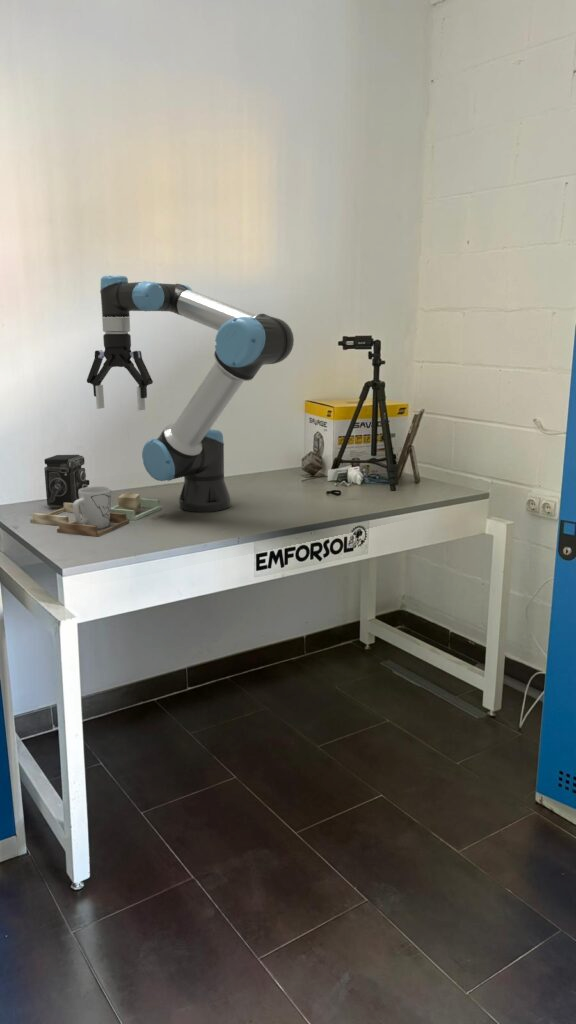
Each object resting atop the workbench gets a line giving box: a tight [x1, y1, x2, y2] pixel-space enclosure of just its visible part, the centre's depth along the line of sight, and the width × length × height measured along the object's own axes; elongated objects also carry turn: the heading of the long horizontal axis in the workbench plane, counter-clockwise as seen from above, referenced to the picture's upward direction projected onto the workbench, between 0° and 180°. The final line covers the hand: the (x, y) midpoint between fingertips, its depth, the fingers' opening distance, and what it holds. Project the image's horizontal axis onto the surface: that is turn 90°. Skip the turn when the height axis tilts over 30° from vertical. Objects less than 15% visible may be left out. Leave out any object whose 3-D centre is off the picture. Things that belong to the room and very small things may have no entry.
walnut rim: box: [56, 512, 130, 537], centre depth 204 cm, size 13×15×2 cm
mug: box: [73, 485, 112, 530], centre depth 204 cm, size 11×8×10 cm
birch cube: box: [117, 493, 142, 516], centre depth 221 cm, size 5×5×5 cm
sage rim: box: [111, 497, 163, 521], centre depth 221 cm, size 13×15×2 cm
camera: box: [44, 454, 90, 509], centre depth 227 cm, size 10×11×15 cm
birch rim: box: [30, 502, 83, 526], centre depth 214 cm, size 13×15×2 cm
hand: (120, 409), depth 221 cm, fingers open, 13 cm apart
